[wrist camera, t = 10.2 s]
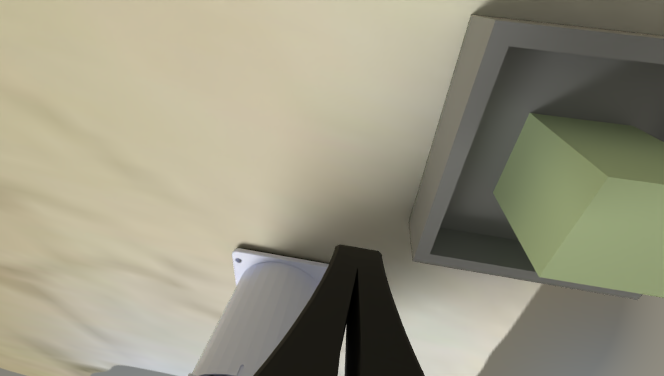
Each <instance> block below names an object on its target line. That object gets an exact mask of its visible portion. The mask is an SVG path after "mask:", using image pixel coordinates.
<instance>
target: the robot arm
mask: <svg viewBox="0 0 664 376" xmlns="http://www.w3.org/2000/svg"><path fill="white" fill-rule="evenodd" d="M232 258H233V265H234V273H235V280H236V288H235V290H234V292H233V294H232V296H231V298H230V300H229V302H228V304H227V306H226V308H225V310H224V312H223V314H222V316H221V317H220V319H219V321H218V323H217V325H216V327H215V329H214V331H213V333H212V335H211V337H210V339H209V341H208V343H207V345H206V347H205V349H204V351H203V353H202V355H201V357H200V359H199V361H198V363H197V365H196V367H195V369H194V371H193V373H192V374H191V373H190V374H189V375H188V376H337V375H338V367H339V358H340V351H341V346H342V342H343V337H344V332H345V328H346V355H345V376H425V375H424V373H423V371H422V369H421V367H420V364H419V362H418V360H417V358H416V356H415V353H414V351H413V349H412V346H411V344H410V342H409V339H408V337H407V335H406V332H405V329H404V327H403V324H402V322H401V319H400V316H399V314H398V311H397V308H396V305H395V303H394V300H393V297H392V294H391V291H390V287H389V284H388V281H387V277H386V274H385V270H384V265H383V261H382V255H381V253H380V252H379V251H374V250H369V249H363V248H357V247H351V246H345V245H338V246H336V247H335V251H334V254H333V256H332V259H331V261H330V263H329V264H326V263H320V262H314V261H309V260H303V259H297V258H292V257H286V256H280V255H275V254H269V253H263V252H258V251H252V250H246V249H241V248H236V249H235V250H234V251H233V253H232ZM346 323H347V327H346Z"/></svg>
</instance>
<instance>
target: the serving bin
mask: <svg viewBox="0 0 664 376" xmlns="http://www.w3.org/2000/svg"><path fill="white" fill-rule="evenodd" d="M529 113H535V114H542V115H550V116H558V117H566V118H574V119H582V120H590V121H598V122H606V123H614V124H622V125H630V126H634V127H636V128H638V129H640V130H642V131H644V132H645V133H647V134H649V135H651V136H653V137H655V138H657V139H659V140H661V141H663V142H664V36H661V35H652V34H643V33H634V32H624V31H615V30H606V29H597V28H588V27H579V26H570V25H561V24H552V23H543V22H534V21H525V20H516V19H507V18H498V17H489V16H480V15H471V17H470V20H469V24H468V27H467V30H466V34H465V37H464V40H463V43H462V47H461V50H460V53H459V57H458V60H457V63H456V67H455V70H454V73H453V77H452V80H451V83H450V87H449V90H448V93H447V97H446V100H445V103H444V107H443V110H442V113H441V117H440V120H439V123H438V127H437V130H436V133H435V137H434V140H433V143H432V146H431V150H430V153H429V156H428V160H427V163H426V166H425V170H424V173H423V176H422V180H421V183H420V186H419V190H418V193H417V196H416V200H415V203H414V206H413V210H412V213H411V216H410V220H409V230H410V239H411V248H412V258H413V261H415V262H421V263H426V264H432V265H438V266H444V267H450V268H455V269H461V270H467V271H473V272H479V273H485V274H490V275H496V276H502V277H508V278H514V279H519V280H525V281H531V282H537V283H543V284H549V285H554V286H560V287H566V288H572V289H578V290H584V291H589V292H595V293H601V294H607V295H612V296H618V297H624V298H630V299H636V300H637V299H639V297H641V296H642V295H643V294H638V293H632V292H626V291H620V290H614V289H608V288H602V287H596V286H590V285H584V284H578V283H572V282H566V281H560V280H554V279H548V278H542V277H539V276H538V274H537V273H536V271H535V269H534V267H533V265H532V263H531V262H530V260H529V258H528V256H527V254H526V253H525V251H524V249H523V247H522V245H521V243H520V242H519V240H518V238H517V236H516V234H515V232H514V231H513V229H512V227H511V225H510V223H509V221H508V220H507V218H506V216H505V214H504V212H503V210H502V209H501V207H500V205H499V203H498V201H497V199H496V198H495V196H494V194H493V191H494V189H495V187H496V185H497V183H498V180H499V178H500V176H501V174H502V172H503V170H504V167H505V165H506V163H507V161H508V159H509V157H510V154H511V152H512V150H513V148H514V146H515V144H516V141H517V139H518V137H519V135H520V133H521V131H522V128H523V126H524V124H525V122H526V120H527V118H528V115H529Z"/></svg>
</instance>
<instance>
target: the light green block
mask: <svg viewBox="0 0 664 376" xmlns="http://www.w3.org/2000/svg"><path fill="white" fill-rule="evenodd" d="M493 194H494V196H495V198H496V199H497V201H498V203H499V205H500V207H501V209H502V210H503V212H504V214H505V216H506V218H507V220H508V221H509V223H510V225H511V227H512V229H513V231H514V232H515V234H516V236H517V238H518V240H519V242H520V243H521V245H522V247H523V249H524V251H525V253H526V254H527V256H528V258H529V260H530V262H531V263H532V265H533V267H534V269H535V271H536V273H537V274H538V276H539V277H542V278H548V279H554V280H560V281H566V282H572V283H578V284H584V285H590V286H596V287H602V288H608V289H614V290H620V291H626V292H632V293H638V294H644V295H650V296H656V297H662V298H664V142H663V141H661V140H659V139H657V138H655V137H653V136H651V135H649V134H647V133H645V132H644V131H642V130H640V129H638V128H636V127H634V126H630V125H622V124H614V123H606V122H598V121H590V120H582V119H574V118H566V117H558V116H550V115H542V114H535V113H529V115H528V118H527V120H526V122H525V124H524V126H523V128H522V131H521V133H520V135H519V137H518V139H517V141H516V144H515V146H514V148H513V150H512V152H511V154H510V157H509V159H508V161H507V163H506V165H505V167H504V170H503V172H502V174H501V176H500V178H499V180H498V183H497V185H496V187H495V189H494V191H493Z"/></svg>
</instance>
